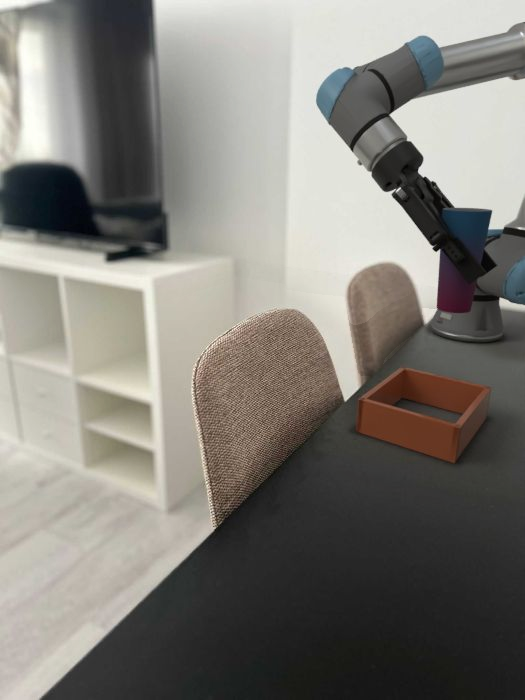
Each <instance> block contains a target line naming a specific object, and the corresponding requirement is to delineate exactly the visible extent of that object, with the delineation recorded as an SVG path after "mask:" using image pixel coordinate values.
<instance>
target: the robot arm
mask: <svg viewBox="0 0 525 700" xmlns="http://www.w3.org/2000/svg"><path fill="white" fill-rule="evenodd" d="M504 78H508V79H510V80H512V81H520V80H525V21H522V22H519V23H515V24H514V25H512V26H511V27H510V28H509V29H508V30H507V31H506V32H501V33H498V34H493V35H492V34H491V35H488V36H483V37H480V38H474V39H471V40H466V41H462V42H458V43H453V44H449V45H445V46H444V45H443V46H439V45H438V44H437V42H436V41H435V40H434V39H433V38H432V37H430V36H428V35H418V36H416V37H414V38H413V39H411V40H410V41H407V42H404V43H403V45H402V46H400V47H399V48H398V49H395V50H394V51H392V52H390V53H388V54H385V55H382V56H381V57H379V58H376V59H374V60H372V61H370V62H367V63H365V64H362V65H357V66H355V67H354V68H353V69H352V68H350V67H348V66H344V67H342V68H337V69H336V70H334V71H332V72H331V73H330V74H329V75H328V76H327V77H326V78H325V79H324V80H323V82H322V83H321V84H320V86H319V88H318V90H317V92H316V98H315V103H316V106H317V108H318V110H319V111H320V113H321V114H322V116H323V117H324V119H325V120H326V122H327V124H328V125H329V126H331V128H332V129H333V130H334V131H335V133H336V134H337V135H338V136H339V137H340V139H341V140H342V141H343V142H344V143H345V144H346V146H347V147H348V148H349V149H350V151H351V152H352V153H353V155H354V156H355V157H356V158H357V159H358V160H357V165H358V166H363V167H364V168H365V170H366V171H367V172H369V173H371V178H372V179H373V180H374V181H375V182H374V183H376V184H377V185H378V187H379V188H380V189H381V191H382V192H384V193H389V192H392V191H393V192H392V193H391V197H392V199H394V200H395V201H396V203H398V205H400V207H401V208H402V210H404V212H405V213H406V215H407V216H408V217H409V218H410V219H411V221H412V222H413V223H414V225H415V226H416V227H417V229H418V230H419V231H420V233H421V234H422V235H423V237H424V238H425V239H426V241H427V242H428V244H429V246H431V249H432V250H433V251H434V252H435V253H437V252H439V251H440V249H441V248H442V247H443V248H442V249H441V250H442V251H443V252H444V253H445V255H446V256H447V257H448V258H449V260H450V261H451V262H452V263H453V265H454V266H455V267H456V268H457V270H458V271H459V272H460V273H461V275H462V276H463V277H464V278H465V280H466V281H467V282H468V283H469V284H471V283H472V282H474V281H475V280H476V279H477V284H476V288H475V293H474V298H473V302H472V307H471V311H470V312H467V313H450V312H444V311H441V310H439V309H437V308H436V311H435V313H434V315H433V318H432V319H431V322H430V330H431V332H432V333H433V334H436V335H438V336H439V337H442V338H445V339H449V340H454V341H459V342H466V343H491V342H496V341H499V340H501V339H502V338H503V336H504V324H503V318H502V312H501V311H502V310H501V306H500V299H502V300H506V301H508V302H510V303H511V304H516V305H523V306H525V194H523V197H522V200H521V203H520V206H519V209H518V212H517V215H516V217H515V218H514V219H513V220H512V221H510V222H508V223H506V224H505V225H504V226H503V228H489V229H488V233H487V238H486V242H485V247H484V252H483V256H482V261H481V264H480V263H479V262H478V261H477V260H476V258H475V257H474V256H473V255H472V253H471V252H470V251H469V250H468V248H467V247H466V246H465V245H464V244H463V242H462V241H461V240H460V239H459V238H458V237H456V238H455V239H453V238H454V235H453V233H452V232H451V231H450V229H449V227H448V226H447V224H446V223H445V221H444V220H443V218H442V212H443V208H456V207H455V206H454V204H453V203H452V202H451V201H450V200H449V198H447V196H446V195H445V194H444V192H443V191H442V190H441V189H440V187H439V186H438V184H437V182H436V181H434V180H430V179H429V178H428V177H427V176H423V175H421V173H419V169H420V168H421V166H422V165H423V164H424V155H423V154H422V153H421V152H420V150H419V149H418V148H417V147H416V145H415V144H414V143H413V142H412V141H411V140H408V136H407V133H405V132H404V130H403V129H402V128H401V127H400V126H399V125H398V123H397V122H396V121H395V120H394V119H393V117H392V116H391V114H392V113H394V112H395V111H397V110H398V109H400V108H401V107H403V106H404V105H406V104H407V103H409V102H410V101H412V100H416V99H419V98H425V97H428V96H432V95H436V94H441V93H445V92H449V91H454V90H458V89H462V88H466V87H470V86H474V85H478V84H483V83H486V82H491V81H495V80H499V79H500V80H501V79H504Z"/></svg>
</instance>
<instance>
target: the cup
mask: <svg viewBox="0 0 525 700" xmlns="http://www.w3.org/2000/svg"><path fill="white" fill-rule="evenodd" d="M492 214H493V209H488V208H478V207H474V208H473V207H455V208H443V212H442V218H443V220H444V221H445V223H446V224H447V226H448V227H449V229H450V231H451V232H452V233H453V235H454V238H453V239H455V238H456V237H458V238H459V239H460V240H461V241H462V242H463V244H464V245H465V246H466V247H467V248H468V250H469V251H470V252H471V253H472V255H473V256H474V257H475V258H476V260H477V261H478V262H479V263H480V264H481V261H482V256H483V252H484V247H485V242H486V238H487V233H488V229H490V224H491V219H492ZM442 248H443V247H442ZM442 248H441V249H442ZM441 249H440V250H439V259H438V260H439V261H438V262H439V263H438V278H437V294H436V295H437V296H436V310H437V309H439V310H441V311H444V312H450V313H467V312H470V311H471V307H472V302H473V298H474V293H475V288H476V284H477V279H476V280H475V281H474V282H472V283H471V284H469V283H468V282H467V281H466V280H465V278H464V277H463V276H462V275H461V273H460V272H459V271H458V270H457V268H456V267H455V266H454V265H453V263H452V262H451V261H450V260H449V258H448V257H447V256H446V255H445V253H444V252H443V251H442V250H441Z"/></svg>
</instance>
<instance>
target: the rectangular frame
mask: <svg viewBox="0 0 525 700" xmlns="http://www.w3.org/2000/svg"><path fill="white" fill-rule="evenodd" d="M491 393H492V387H491V386H488V385H483V384H479V383H474V382H470V381H466V380H462V379H456V378H453V377H448V376H445V375H440V374H436V373H431V372H428V371H423V370H418V369H414V368H410V367H406V366H401V367H400V368H398V369H396V371H394V372H392V373H391V374H390V375H389V376H387V377H386V378H385V379H383V380H382V381H381V382H380V383H378V384H376V385H375V386H374V387H373V388H371V389H370V390H368V391H367V392H366V393H365V394H363V395H362V396H361V397H359V398H358V402H357V414H356V424H355V432H356V433H359V434H362V435H365V436H369V437H372V438H375V439H378V440H380V441H384V442H387V443H390V444H393V445H396V446H399V447H402V448H406V449H408V450H412V451H415V452H418V453H421V454H423V455H428V456H430V457H433V458H436V459H438V460H439V459H440V460H442V461H446V462H448V463H451V464H456V462H457V460H458V459H459V457H460V456H461V455H462V453H463V452H464V450H466V448H467V447H468V445H469V444H470V442H471V440H472V439H473V438H474V436H475V435H476V434H477V432H478V431H479V429H480V428H481V427H482V425H483V424H484V422H485V421H486V419H487V417H488V412H489V407H490V400H491ZM401 399H405V400H409V401H412V402H416V403H419V404H424V405H428V406H430V407H431V406H432V407H435V408H438V409H442V410H445V411H450V412H453V413H458V414H461V416H460V418H459V419H458V420H457V422H455V423H454V422H451V421H448V420H443V419H440V418H436V417H433V416H430V415H426V414H422V413H419V412H416V411H411V410H408V409H404V408H402V407H401V408H400V407H397V406H394V405H395V404H396V403H397V402H399V401H400V400H401Z"/></svg>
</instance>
